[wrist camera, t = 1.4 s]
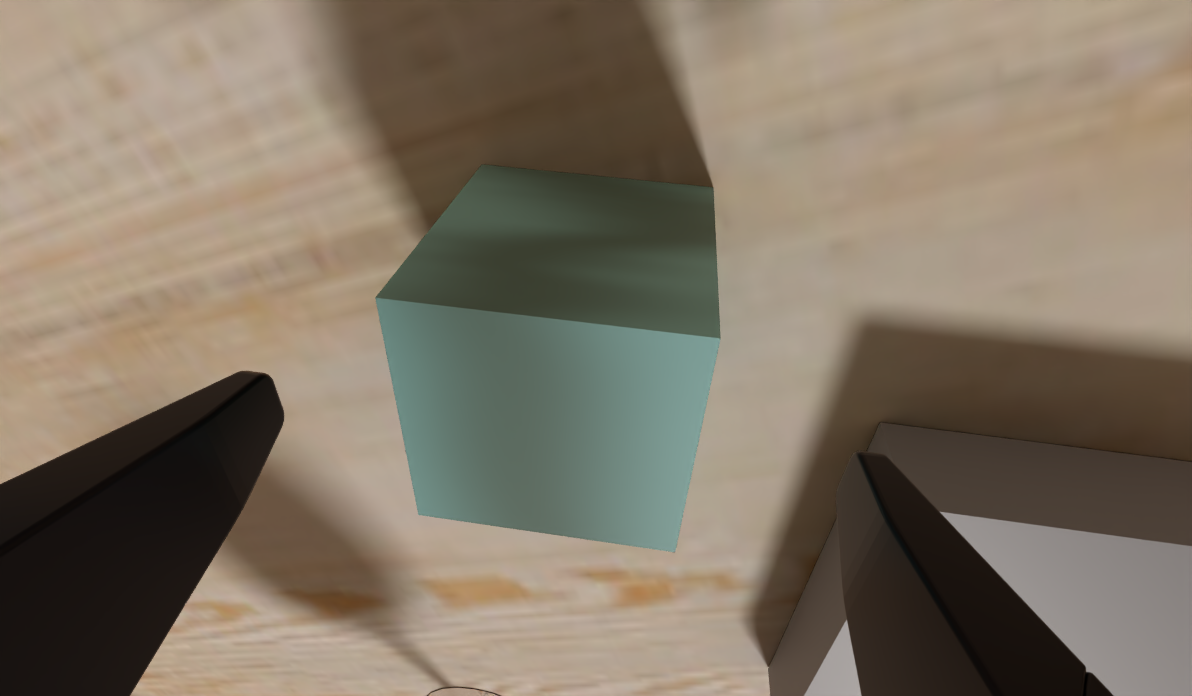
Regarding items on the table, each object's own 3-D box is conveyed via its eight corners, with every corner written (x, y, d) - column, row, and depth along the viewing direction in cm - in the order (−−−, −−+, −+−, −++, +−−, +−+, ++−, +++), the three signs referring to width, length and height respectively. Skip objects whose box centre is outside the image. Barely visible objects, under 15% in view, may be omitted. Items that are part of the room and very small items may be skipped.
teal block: (713, 186, 12) (720, 338, 8) (682, 369, 14) (674, 552, 10) (482, 163, 12) (375, 297, 8) (494, 346, 15) (418, 515, 11)
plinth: (1441, 493, 13) (1571, 598, 11) (1128, 726, 21) (1174, 815, 19) (880, 422, 14) (908, 507, 12) (767, 669, 22) (774, 747, 20)
